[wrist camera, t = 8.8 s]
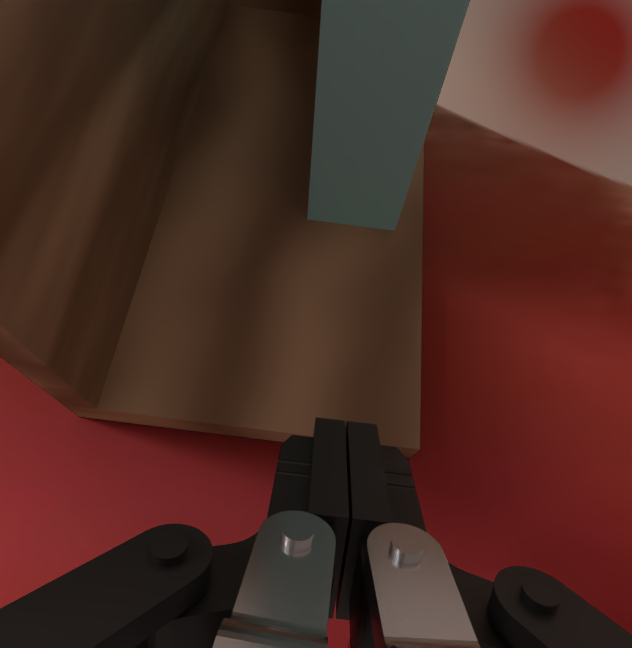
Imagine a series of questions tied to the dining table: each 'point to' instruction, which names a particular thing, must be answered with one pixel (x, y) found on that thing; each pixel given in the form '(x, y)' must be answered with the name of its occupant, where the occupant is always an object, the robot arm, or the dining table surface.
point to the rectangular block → (376, 103)
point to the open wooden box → (192, 226)
